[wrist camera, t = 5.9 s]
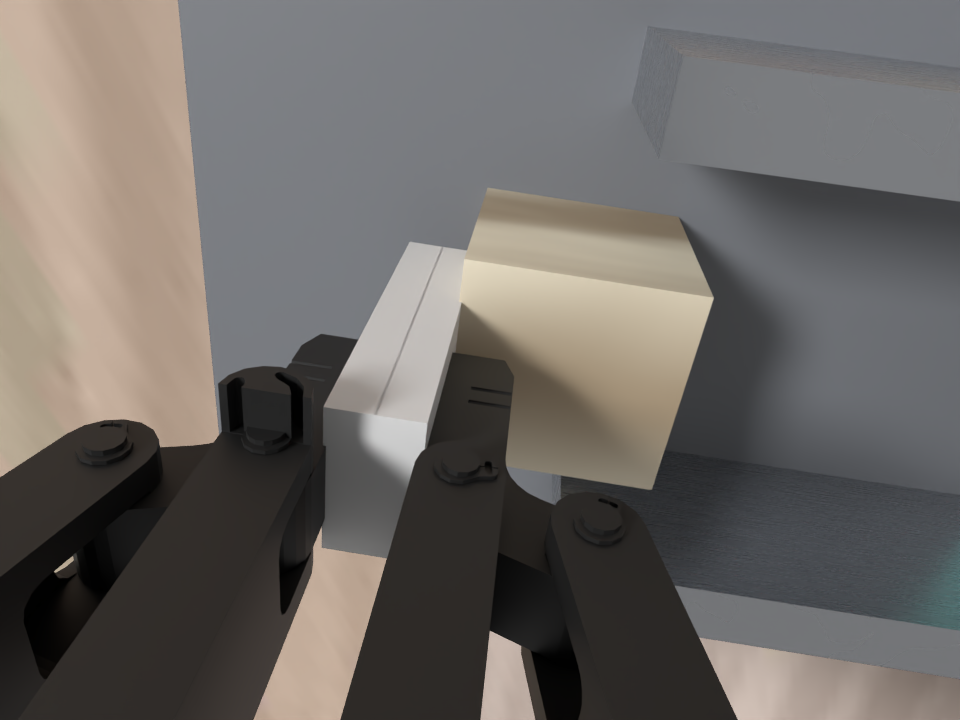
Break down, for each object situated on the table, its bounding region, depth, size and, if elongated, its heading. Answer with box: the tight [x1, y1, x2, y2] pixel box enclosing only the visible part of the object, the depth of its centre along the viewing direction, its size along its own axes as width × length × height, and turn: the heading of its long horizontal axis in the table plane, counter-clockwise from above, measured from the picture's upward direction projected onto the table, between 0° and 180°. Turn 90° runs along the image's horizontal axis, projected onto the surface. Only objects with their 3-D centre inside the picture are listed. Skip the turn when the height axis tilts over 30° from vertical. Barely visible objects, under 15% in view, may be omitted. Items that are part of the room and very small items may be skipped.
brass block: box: [455, 188, 714, 490], centre depth 16 cm, size 4×4×4 cm
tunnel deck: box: [178, 0, 960, 679], centre depth 16 cm, size 15×36×8 cm, turn 84°
